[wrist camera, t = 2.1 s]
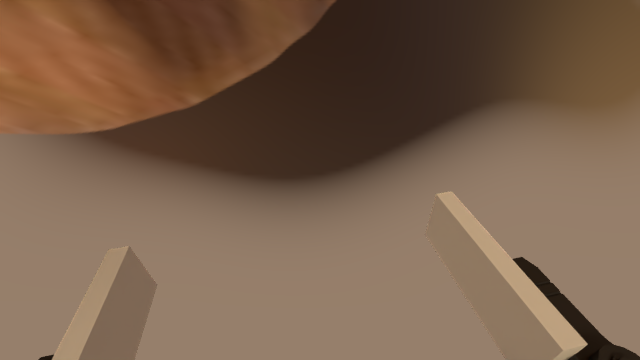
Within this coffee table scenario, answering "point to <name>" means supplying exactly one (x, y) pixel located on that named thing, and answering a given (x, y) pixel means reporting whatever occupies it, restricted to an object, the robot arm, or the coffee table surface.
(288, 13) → the coffee table surface
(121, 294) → the robot arm
